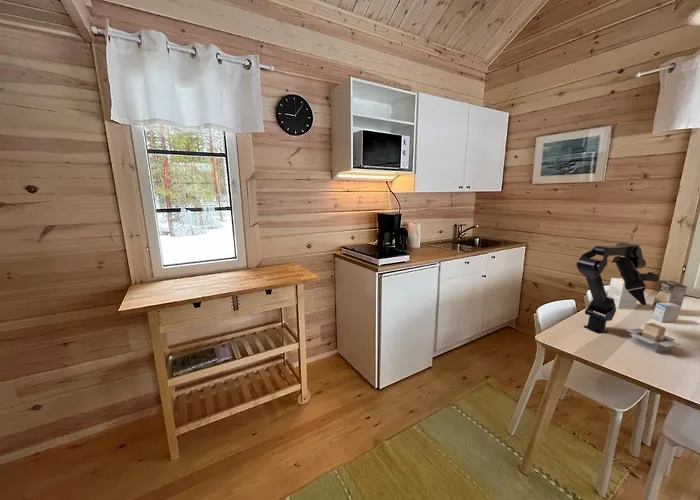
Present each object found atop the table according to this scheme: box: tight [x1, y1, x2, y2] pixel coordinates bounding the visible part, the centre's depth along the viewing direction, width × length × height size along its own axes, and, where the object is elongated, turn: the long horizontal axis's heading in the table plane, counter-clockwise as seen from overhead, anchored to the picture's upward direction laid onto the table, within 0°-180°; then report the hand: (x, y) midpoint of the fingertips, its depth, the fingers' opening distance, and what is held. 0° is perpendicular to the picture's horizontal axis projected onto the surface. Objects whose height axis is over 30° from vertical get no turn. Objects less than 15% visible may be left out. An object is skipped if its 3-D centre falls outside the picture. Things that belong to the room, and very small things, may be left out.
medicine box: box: [652, 303, 682, 323], centre depth 144 cm, size 8×4×9 cm, turn 92°
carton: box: [626, 327, 681, 353], centre depth 120 cm, size 14×14×4 cm
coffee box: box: [652, 279, 688, 309], centre depth 154 cm, size 9×6×16 cm
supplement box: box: [606, 277, 638, 310], centre depth 161 cm, size 9×9×15 cm
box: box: [642, 322, 667, 342], centre depth 120 cm, size 4×4×9 cm
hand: (644, 304), depth 126 cm, fingers open, 9 cm apart
